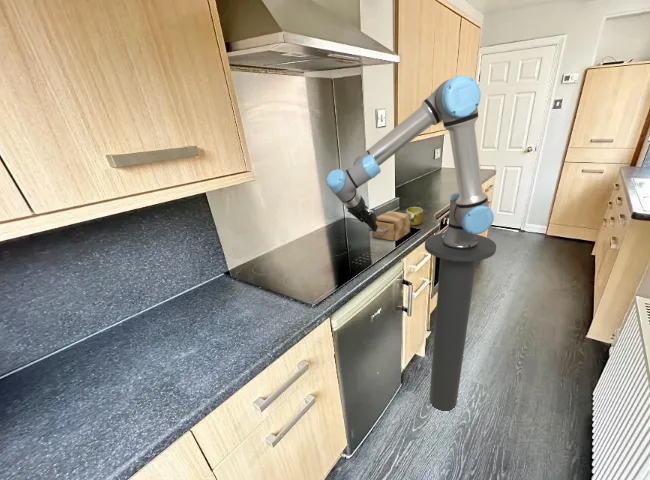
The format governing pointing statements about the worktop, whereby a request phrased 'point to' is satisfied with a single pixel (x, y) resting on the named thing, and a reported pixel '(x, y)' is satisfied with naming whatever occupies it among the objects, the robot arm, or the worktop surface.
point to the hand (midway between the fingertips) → (375, 228)
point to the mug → (415, 215)
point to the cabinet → (397, 222)
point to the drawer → (384, 230)
